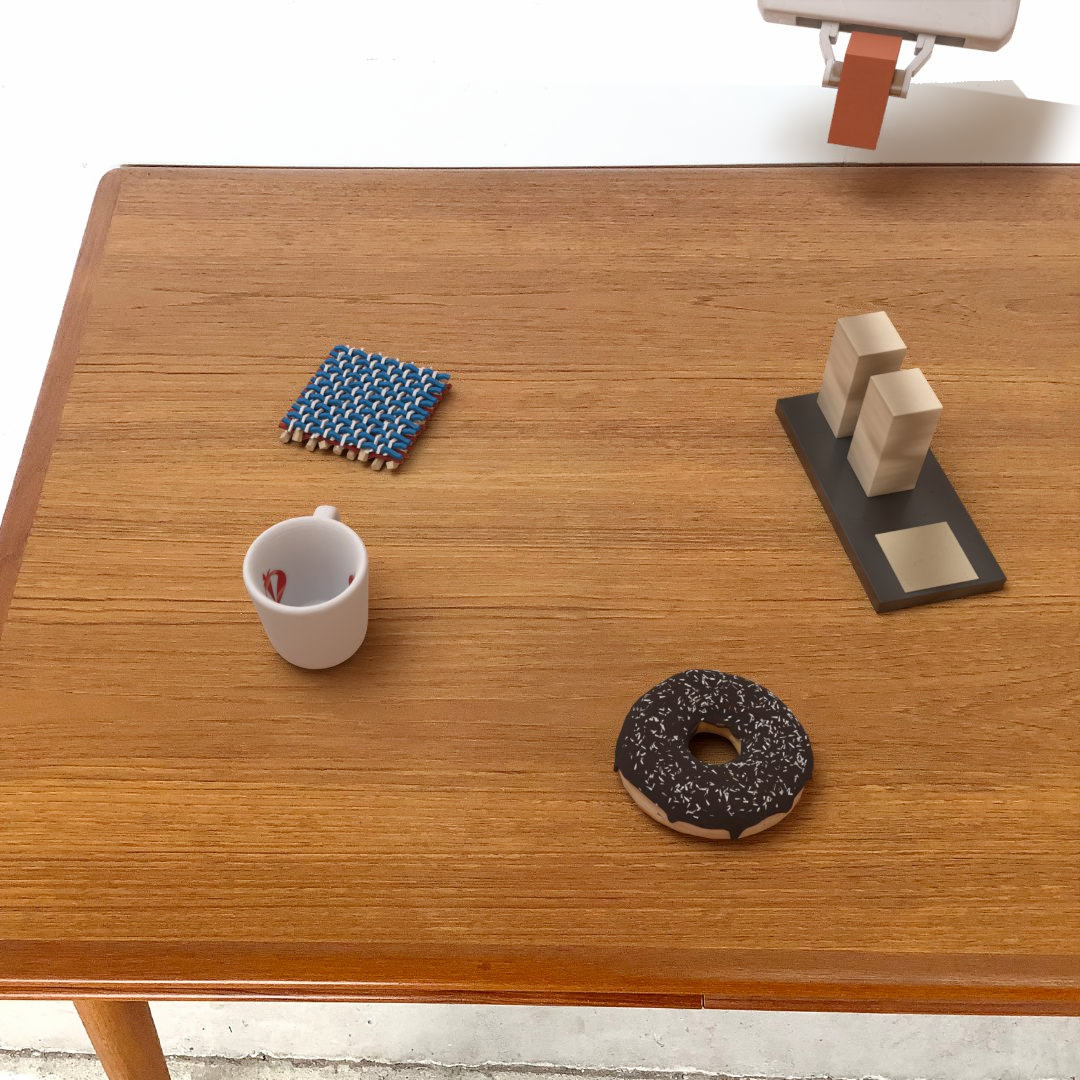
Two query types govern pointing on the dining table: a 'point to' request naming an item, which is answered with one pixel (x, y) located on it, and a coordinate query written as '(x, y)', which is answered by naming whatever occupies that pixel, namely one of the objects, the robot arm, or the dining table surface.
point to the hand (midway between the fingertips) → (864, 91)
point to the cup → (310, 588)
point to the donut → (704, 789)
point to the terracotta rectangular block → (864, 89)
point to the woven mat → (365, 406)
